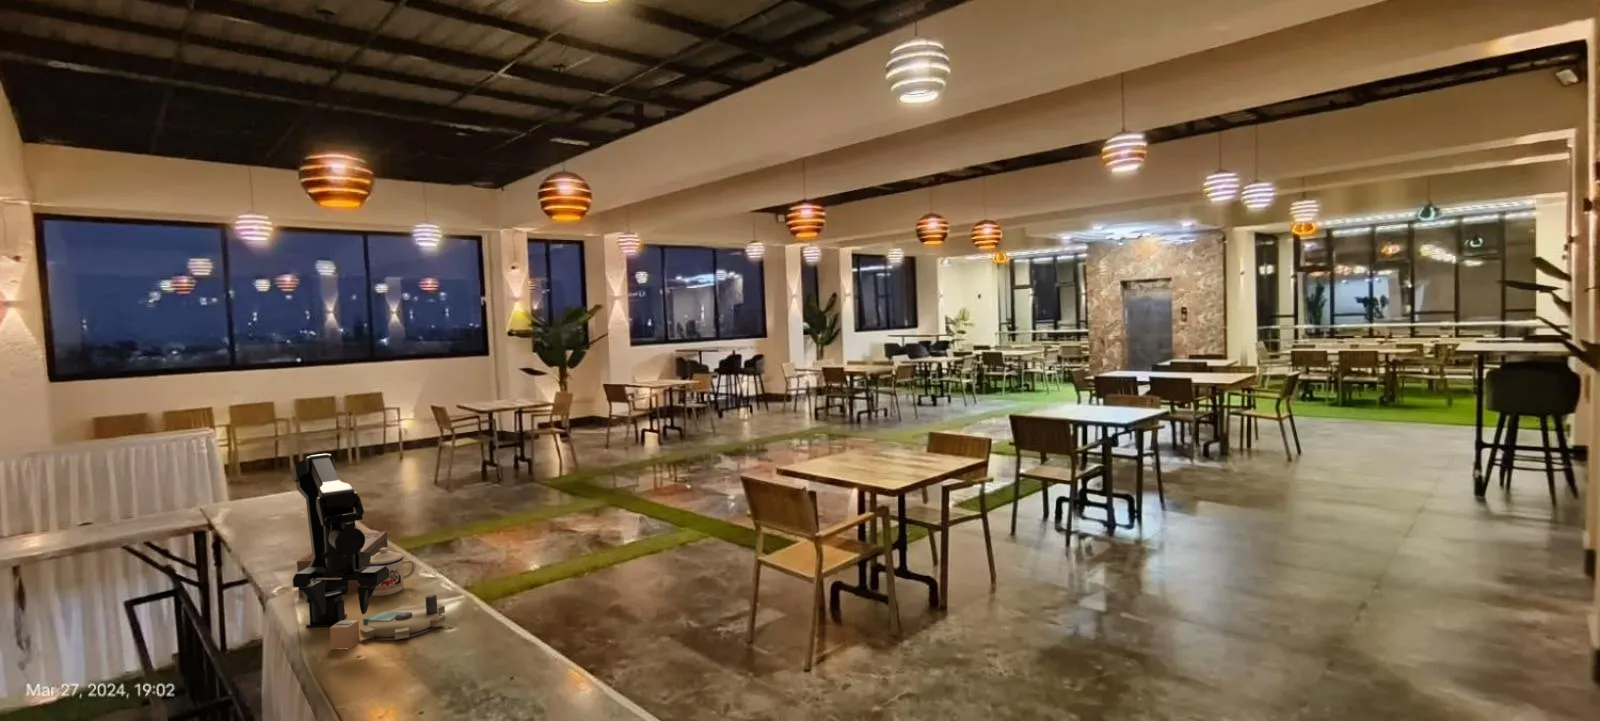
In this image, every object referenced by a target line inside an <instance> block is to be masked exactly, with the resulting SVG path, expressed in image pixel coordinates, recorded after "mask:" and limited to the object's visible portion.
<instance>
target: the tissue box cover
mask: <svg viewBox="0 0 1600 721" xmlns="http://www.w3.org/2000/svg"><path fill="white" fill-rule="evenodd" d="M362 533H363V534H364V536H365V544H364V546H363V548H362V549H361V550H360V552H368V553H371V556H374V555H375V554H376V553H378V552H380V549H381V548H388V549H389V547H388V546H389V545H388V544H389V543H388V531H374V532H362ZM312 559H313V556H312V550H311V551H309V553H307V554H306V555H305V556H302V558H300V559H299V560H297V561H296V566H297V567H296V568H297V573H298V572H300V571H302V570H304V569H306V568H308V567H309V565H310V563H311V561H312ZM365 569H366V567H365V566H362V568H360V569H357V570H356V571H363V570H365ZM349 576H350V575H349ZM359 586H361V585H360V584H359V583H358V580H349V582H348V592H347V593H348V594H358V590H357V588H358V587H359ZM297 588H298V589H299V588H300V587H297ZM300 598H301V599H302V598H303V591H299V590H298V599H300ZM303 599H304V598H303Z"/></svg>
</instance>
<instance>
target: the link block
mask: <svg viewBox="0 0 1600 721" xmlns="http://www.w3.org/2000/svg"><path fill="white" fill-rule="evenodd" d="M359 624H360V623H359V620H358V619H353V620H352V619H350V620H349V619H348V620H345V619H344V620H343V619H342V620H341V621H339V622H337V623H336V624H334V625H333V626H329V629H330V630H329V634H330V636H329V637H330V649H331V648H350V647H352V646H353V645H354V646H356V645H357V644H358V642H359V641H361V640H360V639H361V638H360V626H359ZM356 643H357V644H356ZM359 643H360V642H359ZM355 644H356V645H355ZM354 646H353V647H354ZM353 647H352V648H353ZM350 649H351V648H350Z"/></svg>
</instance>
